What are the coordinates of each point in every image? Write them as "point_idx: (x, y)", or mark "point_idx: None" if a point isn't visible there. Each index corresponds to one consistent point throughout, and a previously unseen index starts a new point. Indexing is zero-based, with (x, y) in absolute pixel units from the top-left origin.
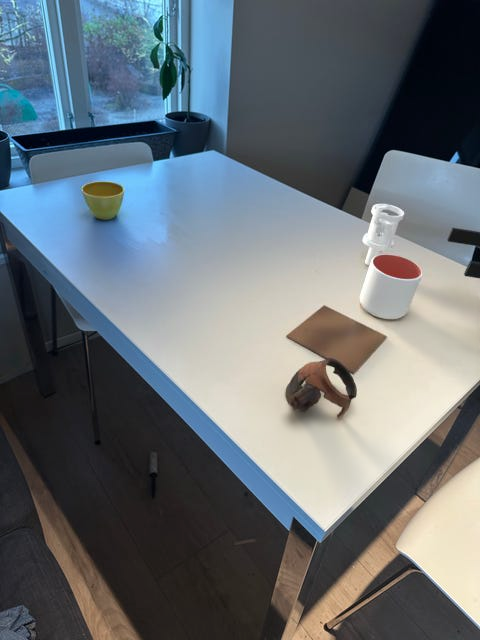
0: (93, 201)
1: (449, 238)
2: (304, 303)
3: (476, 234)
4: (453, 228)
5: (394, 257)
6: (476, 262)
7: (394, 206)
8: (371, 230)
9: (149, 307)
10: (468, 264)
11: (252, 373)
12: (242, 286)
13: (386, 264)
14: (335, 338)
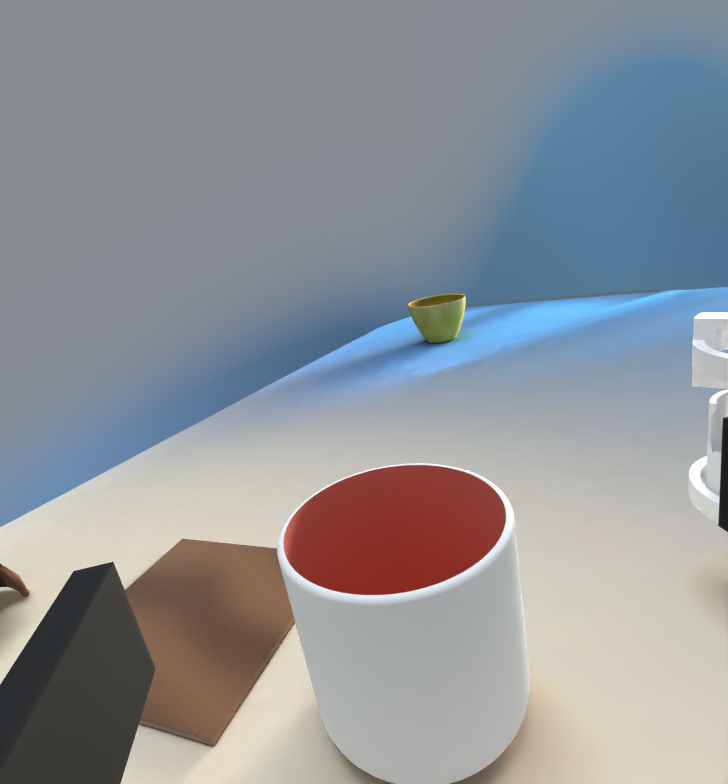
0: (410, 313)
1: (722, 501)
2: None
3: None
4: None
5: (501, 505)
6: (80, 601)
7: None
8: (714, 425)
9: (236, 425)
10: (120, 591)
11: (69, 541)
12: (344, 453)
13: (494, 528)
14: (179, 610)
